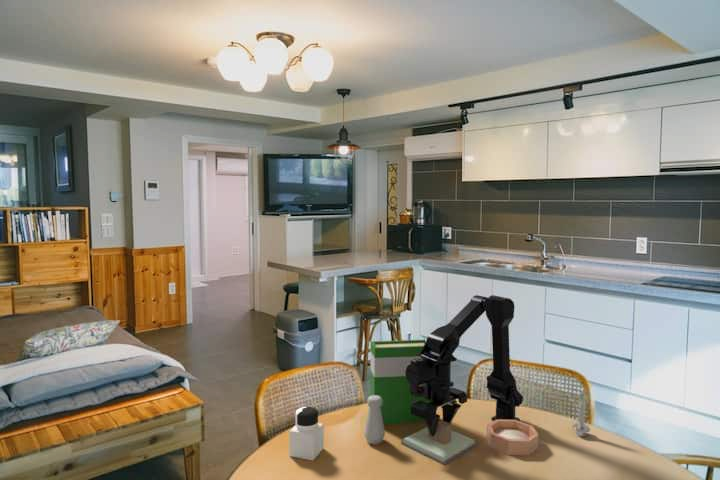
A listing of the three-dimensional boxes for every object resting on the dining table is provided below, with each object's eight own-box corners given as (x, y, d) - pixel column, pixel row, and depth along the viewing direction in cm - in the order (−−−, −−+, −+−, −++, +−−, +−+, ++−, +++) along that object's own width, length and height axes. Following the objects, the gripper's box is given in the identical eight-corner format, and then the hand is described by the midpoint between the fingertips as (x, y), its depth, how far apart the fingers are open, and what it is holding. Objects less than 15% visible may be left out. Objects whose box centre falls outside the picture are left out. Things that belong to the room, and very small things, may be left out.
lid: (435, 426, 146) (435, 407, 146) (474, 443, 136) (475, 422, 135) (403, 441, 137) (404, 421, 136) (443, 461, 126) (444, 439, 126)
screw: (593, 436, 142) (581, 439, 140) (580, 429, 146) (568, 432, 144) (595, 393, 141) (583, 396, 139) (582, 387, 145) (569, 389, 143)
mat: (434, 427, 147) (434, 425, 147) (476, 445, 136) (476, 443, 136) (400, 443, 137) (400, 441, 137) (443, 464, 126) (443, 462, 126)
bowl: (503, 428, 147) (503, 415, 146) (544, 444, 137) (545, 430, 137) (479, 442, 138) (479, 428, 137) (521, 460, 128) (521, 445, 128)
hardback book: (423, 411, 158) (424, 339, 156) (429, 421, 151) (431, 346, 149) (370, 414, 155) (370, 341, 154) (374, 425, 148) (374, 348, 146)
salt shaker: (382, 447, 135) (383, 401, 134) (362, 445, 136) (363, 400, 135) (386, 437, 140) (386, 393, 139) (366, 435, 141) (367, 392, 140)
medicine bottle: (324, 448, 134) (324, 406, 133) (313, 461, 127) (313, 417, 126) (300, 444, 136) (300, 402, 135) (288, 456, 129) (288, 412, 128)
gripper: (437, 363, 147) (436, 413, 148) (395, 378, 134) (395, 432, 136) (468, 373, 139) (467, 425, 140) (427, 389, 126) (426, 447, 127)
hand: (439, 432), depth 136 cm, fingers open, 6 cm apart
